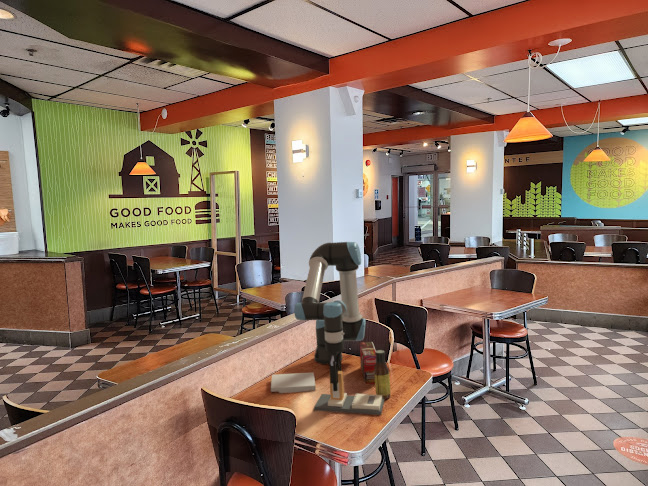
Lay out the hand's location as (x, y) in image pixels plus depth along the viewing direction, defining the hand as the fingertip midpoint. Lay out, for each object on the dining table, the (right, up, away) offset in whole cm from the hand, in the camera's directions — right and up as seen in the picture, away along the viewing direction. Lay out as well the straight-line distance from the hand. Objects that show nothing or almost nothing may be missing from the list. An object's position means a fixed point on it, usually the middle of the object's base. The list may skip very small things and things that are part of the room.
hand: (337, 395), depth 178 cm
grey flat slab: (-20, -4, +23) cm, 30 cm away
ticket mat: (+5, -4, -1) cm, 7 cm away
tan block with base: (0, -2, 0) cm, 2 cm away
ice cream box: (+16, -1, +29) cm, 33 cm away
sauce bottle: (+20, -3, +6) cm, 21 cm away
